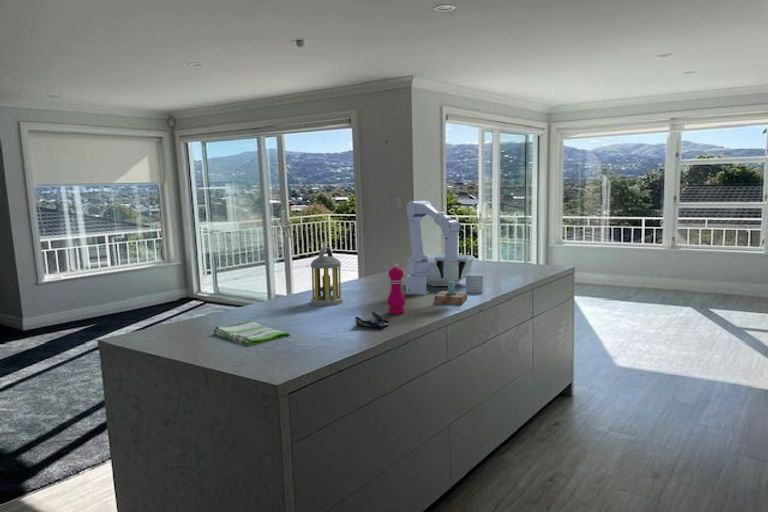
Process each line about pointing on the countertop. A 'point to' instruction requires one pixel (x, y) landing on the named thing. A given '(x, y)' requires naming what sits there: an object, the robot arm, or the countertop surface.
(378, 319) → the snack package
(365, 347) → the countertop surface
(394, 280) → the pepper mill
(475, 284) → the medicine box
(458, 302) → the socket block
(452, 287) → the peg
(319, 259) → the lantern
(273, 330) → the dish towel
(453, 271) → the bowl
